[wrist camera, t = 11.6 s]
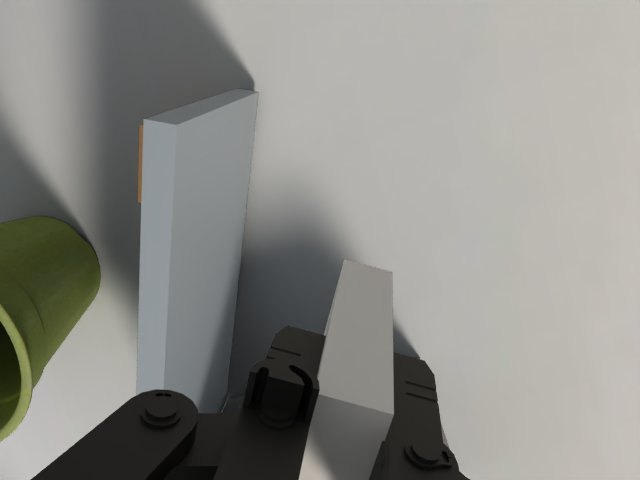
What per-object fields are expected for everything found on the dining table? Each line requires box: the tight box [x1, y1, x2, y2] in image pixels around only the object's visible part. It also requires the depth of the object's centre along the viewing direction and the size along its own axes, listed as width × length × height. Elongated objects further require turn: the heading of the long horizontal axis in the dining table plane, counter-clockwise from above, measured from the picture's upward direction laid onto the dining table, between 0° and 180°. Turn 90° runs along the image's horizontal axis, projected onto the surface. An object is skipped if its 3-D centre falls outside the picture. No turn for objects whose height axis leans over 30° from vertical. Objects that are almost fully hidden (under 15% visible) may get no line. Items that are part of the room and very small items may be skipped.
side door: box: [136, 88, 259, 413], centre depth 28 cm, size 2×22×12 cm, turn 171°
